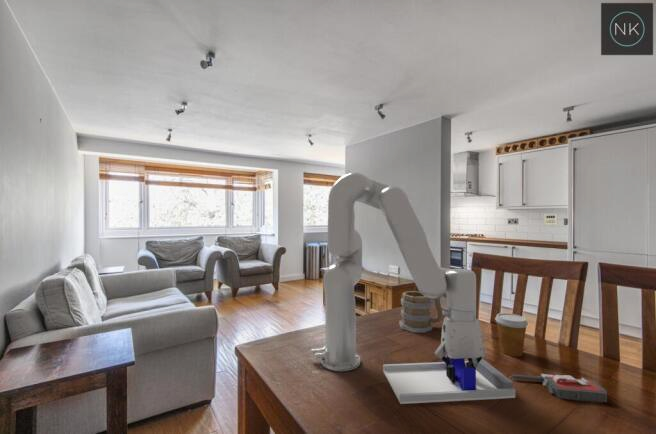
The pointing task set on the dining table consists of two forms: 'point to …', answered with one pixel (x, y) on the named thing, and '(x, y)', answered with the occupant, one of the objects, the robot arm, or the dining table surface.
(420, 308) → the tankard
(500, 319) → the disposable coffee cup
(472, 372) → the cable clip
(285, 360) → the dining table surface
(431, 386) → the channel
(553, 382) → the walkie-talkie
